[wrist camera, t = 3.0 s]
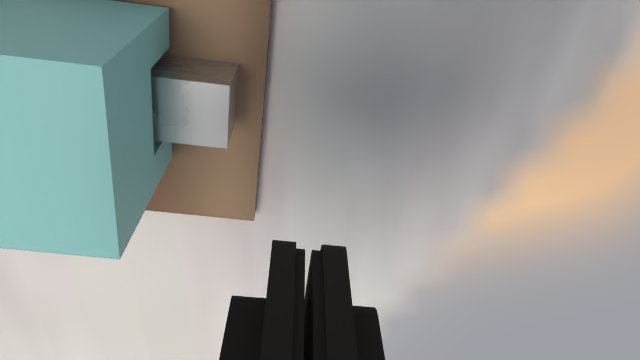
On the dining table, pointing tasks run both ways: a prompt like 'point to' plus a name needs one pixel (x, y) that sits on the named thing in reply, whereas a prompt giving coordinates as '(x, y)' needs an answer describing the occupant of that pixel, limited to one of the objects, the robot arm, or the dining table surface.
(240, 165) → the board
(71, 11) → the slider
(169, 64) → the rail
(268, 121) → the dining table surface
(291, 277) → the robot arm
